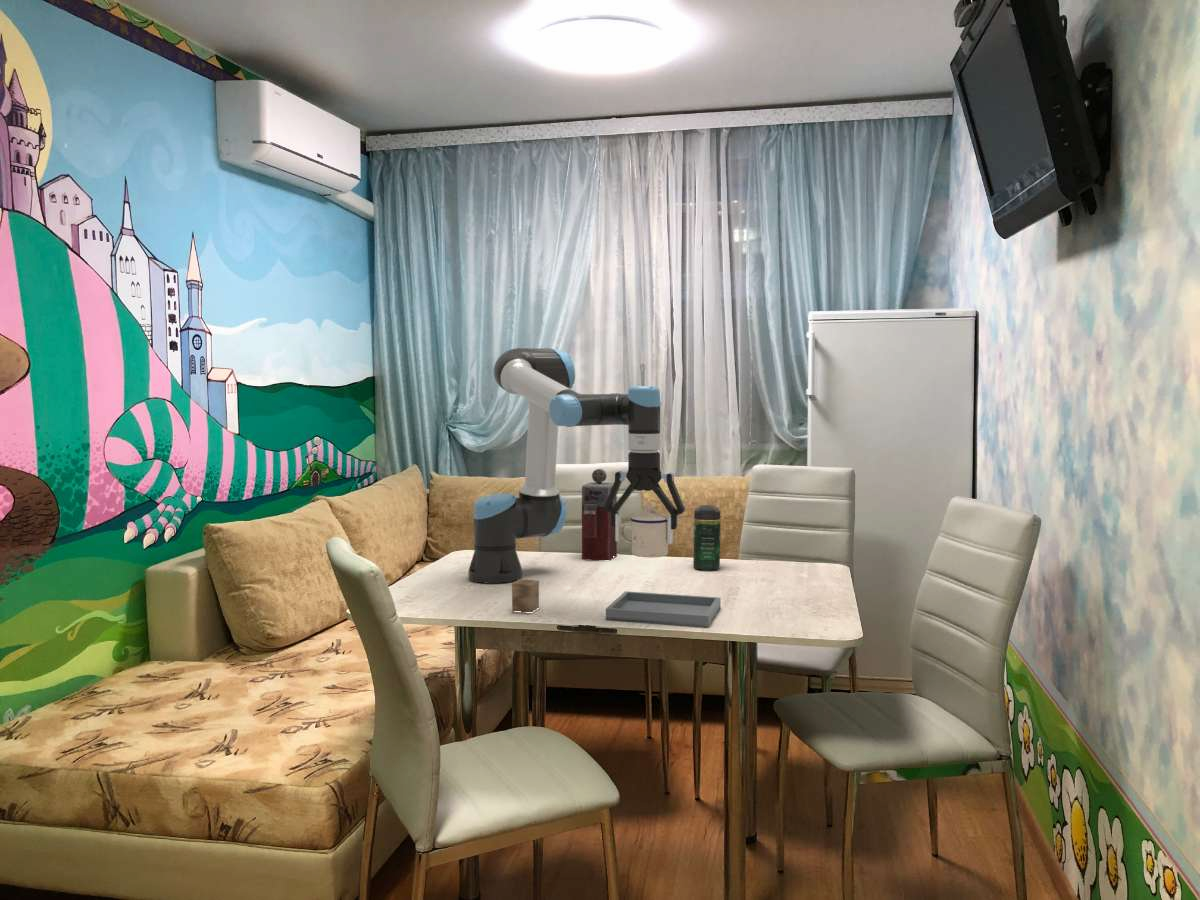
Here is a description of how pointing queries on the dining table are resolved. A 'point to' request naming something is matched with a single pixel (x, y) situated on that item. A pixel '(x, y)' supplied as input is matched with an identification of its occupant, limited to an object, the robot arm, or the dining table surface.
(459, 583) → the dining table surface
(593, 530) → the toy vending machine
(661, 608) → the tray
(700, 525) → the coffee jar
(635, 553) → the teacup with lid
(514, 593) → the walnut block
